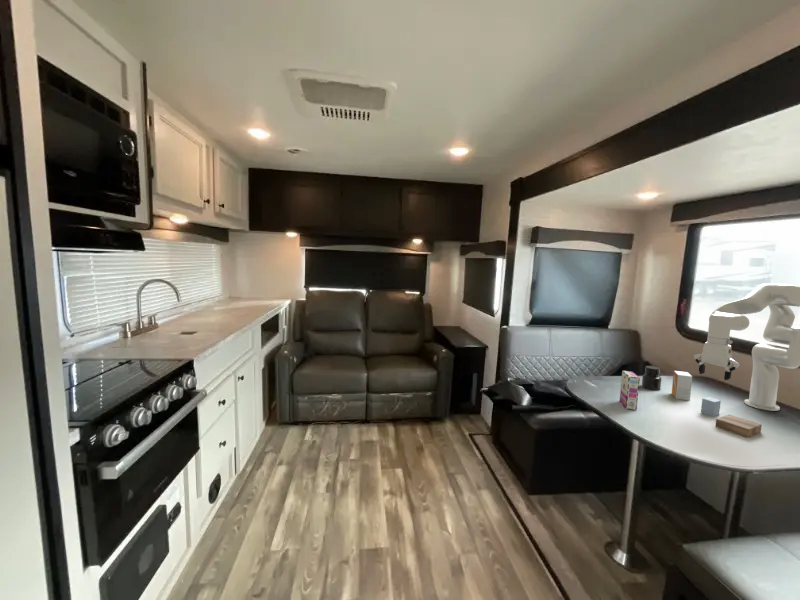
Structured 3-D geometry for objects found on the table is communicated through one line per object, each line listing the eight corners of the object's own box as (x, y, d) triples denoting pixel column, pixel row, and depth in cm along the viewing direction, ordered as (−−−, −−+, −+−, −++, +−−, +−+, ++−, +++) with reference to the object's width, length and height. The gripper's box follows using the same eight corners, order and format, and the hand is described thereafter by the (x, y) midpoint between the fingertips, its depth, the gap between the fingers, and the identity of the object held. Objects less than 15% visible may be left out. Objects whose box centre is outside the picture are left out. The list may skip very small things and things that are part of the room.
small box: (671, 393, 198) (673, 370, 196) (685, 395, 195) (687, 372, 194) (675, 398, 191) (677, 374, 189) (690, 400, 188) (692, 376, 187)
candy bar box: (637, 410, 174) (640, 377, 172) (625, 409, 176) (628, 376, 174) (630, 402, 185) (632, 371, 183) (619, 401, 186) (621, 370, 185)
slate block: (706, 410, 175) (708, 396, 175) (719, 414, 171) (720, 400, 170) (700, 412, 173) (702, 398, 172) (713, 416, 169) (715, 402, 168)
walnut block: (728, 422, 163) (729, 414, 163) (760, 433, 153) (761, 424, 153) (715, 427, 158) (716, 418, 158) (747, 438, 148) (748, 429, 148)
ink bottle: (665, 390, 203) (667, 369, 201) (652, 391, 201) (654, 370, 199) (649, 384, 212) (651, 364, 211) (637, 385, 210) (638, 365, 209)
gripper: (745, 344, 162) (741, 381, 164) (700, 336, 177) (696, 370, 179) (737, 345, 159) (733, 383, 161) (691, 337, 174) (688, 372, 176)
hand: (713, 376), depth 170 cm, fingers open, 9 cm apart
